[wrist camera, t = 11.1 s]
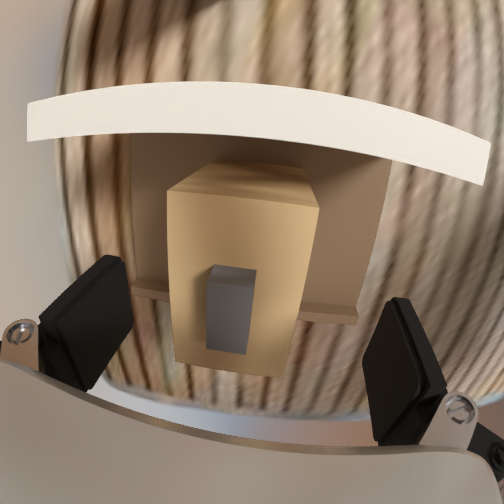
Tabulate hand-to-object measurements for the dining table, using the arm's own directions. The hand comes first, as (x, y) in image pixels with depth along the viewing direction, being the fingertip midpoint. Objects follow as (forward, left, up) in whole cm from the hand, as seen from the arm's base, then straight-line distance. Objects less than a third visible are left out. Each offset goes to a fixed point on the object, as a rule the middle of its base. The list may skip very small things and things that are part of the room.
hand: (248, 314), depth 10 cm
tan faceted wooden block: (+1, 0, -9) cm, 9 cm away
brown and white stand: (+1, -1, -12) cm, 12 cm away
